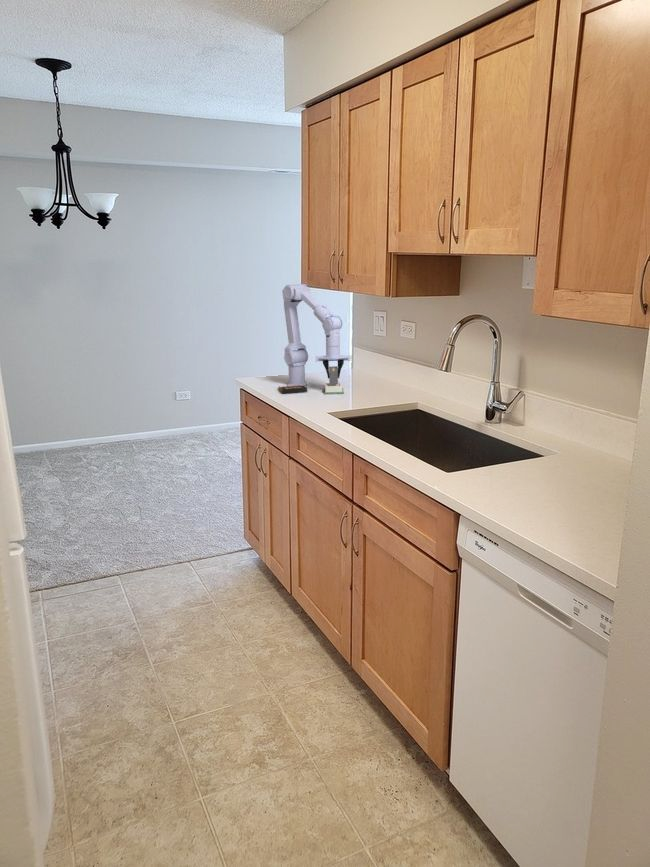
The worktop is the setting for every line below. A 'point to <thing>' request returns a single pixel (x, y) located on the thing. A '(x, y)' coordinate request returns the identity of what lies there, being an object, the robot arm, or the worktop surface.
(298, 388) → the ammunition clip
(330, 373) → the plug
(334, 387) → the board
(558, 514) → the worktop surface
